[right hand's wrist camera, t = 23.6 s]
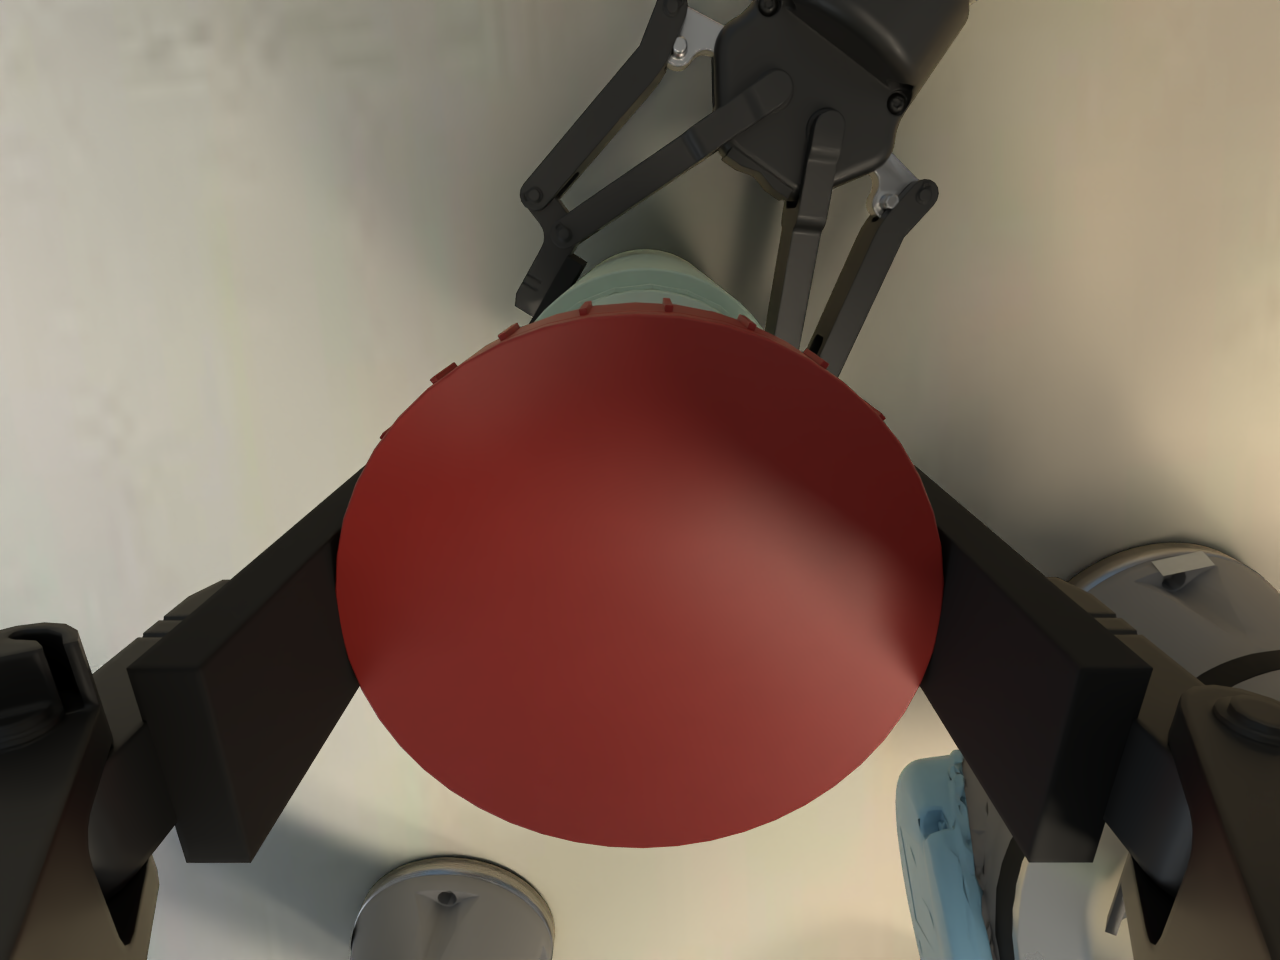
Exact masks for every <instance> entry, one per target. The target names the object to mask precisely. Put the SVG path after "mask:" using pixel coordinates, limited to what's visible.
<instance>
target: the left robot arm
mask: <svg viewBox="0 0 1280 960" xmlns="http://www.w3.org/2000/svg"><path fill="white" fill-rule="evenodd" d="M976 1H977V0H753V1H752V3H751V4H750V6H749V7H748V8H747V9H746V10H745V11H744V12H743V13H741V14H740V15H739V16H737V17H736V18H734V19H732V20H731V21H729V22H728V23H727V24H726V25H725V26H724V25H722V24H720V23H718V22H716V21H715V20H713V19H711V18H709V17H707V16H705V15H703V14H702V13H700V12H698V11H696V10H694V9H692V8H690V7H689V6H688V3H687V0H657V2H656V5H655V7H654V10H653V12H652V15H651V18H650V20H649V23H648V25H647V28H646V30H645V33H644V36H643V38H642V41H641V43H640V46H639V47H638V48H637V49H636V51H635V52H634V53H633V54H632V55H631V56H630V58H629V59H628V60H627V61H626V62H625V64H624V65H623V66H622V67H621V68H620V70H619V71H618V72H617V73H616V74H615V76H614V77H613V78H612V79H611V80H610V82H609V83H608V84H607V85H606V86H605V87H604V89H603V90H602V91H601V92H600V93H599V95H598V96H597V97H596V98H595V99H594V101H593V102H592V103H591V104H590V105H589V107H588V108H587V109H586V110H585V111H584V113H583V114H582V115H581V116H580V117H579V118H578V120H577V121H576V122H575V123H574V124H573V126H572V127H571V128H570V129H569V130H568V132H567V133H566V134H565V135H564V136H563V138H562V139H561V140H560V141H559V142H558V144H557V145H556V146H555V147H554V148H553V150H552V151H551V152H550V153H549V154H548V155H547V157H546V158H545V159H544V160H543V161H542V163H541V164H540V165H539V166H538V167H537V169H536V170H535V171H534V172H533V173H532V175H531V176H530V177H529V178H528V179H527V181H526V182H525V183H524V184H523V186H522V188H521V190H520V198H521V202H522V203H523V205H524V206H525V207H526V208H528V209H529V210H530V212H531V213H532V214H533V216H534V217H535V218H536V220H537V221H538V222H539V223H540V225H541V227H542V228H543V232H544V242H543V245H542V247H541V249H540V251H539V253H538V255H537V256H536V258H535V260H534V262H533V264H532V266H531V267H530V269H529V271H528V273H527V275H526V277H525V278H524V280H523V282H522V284H521V286H520V288H519V289H518V291H517V293H516V301H515V306H516V307H518V308H519V309H521V310H522V311H524V312H526V313H527V314H529V315H531V316H532V317H533V318H532V319H531V321H530V323H529V324H531V323H534V322H535V320H536V319H537V318H538V317H539V316H540V315H541V313H542V312H543V311H544V310H545V309H546V308H547V307H548V306H549V305H551V304H552V303H553V302H554V301H555V300H556V299H557V298H558V297H560V296H561V295H562V294H563V293H564V292H566V291H567V290H568V289H569V288H570V287H572V286H573V285H574V284H575V283H576V281H577V280H578V278H579V276H580V274H581V273H582V271H583V269H584V267H585V266H586V264H587V262H586V261H584V260H583V259H581V258H580V257H578V256H577V255H575V254H574V251H575V250H576V248H577V246H578V245H579V244H580V243H581V242H583V241H584V240H586V239H587V238H589V237H590V236H592V235H593V234H595V233H596V232H598V231H599V230H601V229H602V228H604V227H605V226H607V225H608V224H610V223H611V222H613V221H614V220H616V219H617V218H619V217H620V216H621V215H623V214H624V213H626V212H627V211H629V210H630V209H632V208H633V207H635V206H636V205H638V204H639V203H641V202H642V201H644V200H645V199H647V198H648V197H650V196H651V195H653V194H654V193H656V192H657V191H659V190H660V189H662V188H663V187H664V186H666V185H667V184H669V183H670V182H672V181H673V180H675V179H676V178H678V177H679V176H681V175H682V174H684V173H685V172H687V171H688V170H690V169H691V168H693V167H694V166H696V165H698V164H699V163H701V162H702V161H704V160H705V159H707V158H708V157H710V156H711V155H712V154H714V153H715V152H717V151H718V152H719V153H720V155H721V156H722V159H721V160H722V161H724V162H725V163H726V164H728V165H729V166H731V167H732V168H734V169H735V170H737V171H740V172H743V173H746V174H749V175H752V176H753V177H754V178H755V179H756V180H757V182H758V183H759V184H760V185H761V187H762V188H763V189H764V190H765V191H766V192H767V193H769V194H770V195H772V196H773V197H774V198H776V199H777V200H785V202H784V208H783V214H782V222H781V224H782V232H781V238H780V244H779V250H778V256H777V262H776V267H775V273H774V279H773V285H772V291H771V297H770V303H769V309H768V315H767V320H766V326H765V331H766V332H768V333H770V334H772V335H774V336H776V337H778V338H780V339H782V340H784V341H786V342H788V343H789V344H791V345H792V346H794V347H795V348H797V349H798V350H799V347H800V341H801V336H802V331H803V326H804V320H805V315H806V310H807V304H808V299H809V294H810V289H811V283H812V278H813V273H814V267H815V262H816V257H817V252H818V246H819V241H820V236H821V232H822V230H823V228H824V226H825V223H826V219H827V215H828V209H829V204H830V199H831V194H832V189H834V188H836V187H838V186H841V185H843V184H846V183H848V182H850V181H853V180H855V179H857V178H860V177H862V176H864V175H867V174H868V175H869V176H870V177H871V180H872V190H871V192H870V194H869V196H868V198H867V201H866V208H867V211H868V213H869V214H870V216H869V217H868V219H867V220H866V222H865V223H864V225H863V226H862V228H861V230H860V231H859V233H858V235H857V237H856V239H855V242H854V244H853V246H852V248H851V251H850V253H849V255H848V257H847V260H846V262H845V264H844V266H843V269H842V271H841V273H840V275H839V278H838V280H837V282H836V284H835V287H834V289H833V291H832V293H831V295H830V298H829V300H828V302H827V304H826V307H825V309H824V311H823V313H822V316H821V318H820V320H819V322H818V325H817V327H816V329H815V331H814V334H813V336H812V338H811V340H810V343H809V345H808V347H807V349H809V350H810V351H812V352H813V353H815V354H816V355H817V356H819V357H820V358H822V359H823V360H825V361H826V362H827V363H829V366H828V367H827V369H826V370H828V371H829V372H831V373H832V374H833V375H835V376H836V377H837V378H838V377H839V374H840V372H841V370H842V368H843V366H844V364H845V362H846V360H847V357H848V355H849V353H850V351H851V349H852V347H853V345H854V343H855V340H856V338H857V336H858V334H859V332H860V330H861V328H862V325H863V323H864V321H865V319H866V317H867V315H868V313H869V311H870V308H871V306H872V304H873V302H874V300H875V298H876V296H877V294H878V291H879V289H880V287H881V285H882V283H883V281H884V279H885V277H886V274H887V272H888V270H889V268H890V266H891V264H892V262H893V260H894V257H895V255H896V253H897V251H898V249H899V247H900V245H901V242H902V240H903V238H904V237H905V236H906V235H907V234H908V233H909V231H910V230H911V229H912V228H913V227H914V226H915V225H916V224H917V223H918V222H919V221H920V219H921V218H922V217H923V216H924V215H925V214H926V213H927V212H928V211H929V210H930V209H931V207H932V206H933V205H934V204H935V202H936V201H937V198H938V194H939V192H938V187H937V185H936V184H935V183H934V182H933V181H931V180H927V179H923V180H918V179H917V178H916V177H915V176H914V175H913V174H912V173H911V172H910V171H909V170H908V169H907V168H906V167H905V166H904V165H903V163H902V162H901V161H900V160H899V159H898V158H897V157H896V156H895V155H894V154H893V153H892V151H893V148H894V144H895V136H896V132H897V128H898V125H899V123H900V120H901V118H902V117H903V115H904V113H905V112H906V110H907V109H908V107H909V106H910V104H911V103H912V101H913V100H914V98H915V97H916V95H917V94H918V92H919V91H920V90H921V88H922V87H923V85H924V84H925V82H926V81H927V79H928V78H929V76H930V75H931V73H932V72H933V70H934V69H935V67H936V66H937V64H938V63H939V62H940V60H941V59H942V57H943V56H944V54H945V53H946V51H947V50H948V48H949V47H950V45H951V44H952V42H953V41H954V39H955V38H956V36H957V35H958V34H959V32H960V31H961V29H962V28H963V26H964V25H965V23H966V21H967V19H968V15H969V5H971V4H973V3H974V2H976ZM701 55H706V56H709V57H711V65H712V103H713V112H712V113H711V114H709V115H708V116H706V117H705V118H704V119H702V120H701V121H699V122H698V123H696V124H695V125H693V126H692V127H691V128H689V129H688V130H687V131H686V132H684V133H683V134H682V135H681V136H679V137H678V138H676V139H675V140H673V141H672V142H670V143H669V144H667V145H666V146H665V147H663V148H662V149H660V150H659V151H657V152H656V153H654V154H653V155H651V156H650V157H649V158H647V159H646V160H644V161H643V162H641V163H640V164H638V165H637V166H635V167H634V168H633V169H631V170H630V171H628V172H627V173H625V174H624V175H622V176H621V177H620V178H618V179H617V180H615V181H614V182H612V183H611V184H609V185H608V186H606V187H605V188H604V189H602V190H601V191H599V192H598V193H596V194H595V195H593V196H592V197H590V198H589V199H588V200H586V201H585V202H583V203H582V204H580V205H579V206H577V207H576V208H574V209H573V210H572V211H570V212H569V211H568V209H567V208H566V207H565V206H564V204H563V203H562V202H561V200H560V198H561V197H562V196H563V195H564V194H565V193H566V191H567V190H568V189H569V188H570V187H571V186H572V185H573V183H574V182H575V181H576V180H577V179H578V178H579V176H580V175H581V174H582V173H583V172H584V171H585V169H586V168H587V167H588V166H589V165H590V164H591V162H592V161H593V160H594V159H595V158H596V157H597V156H598V154H599V153H600V152H601V151H602V150H603V149H604V147H605V146H606V145H607V144H608V143H609V142H610V140H611V139H612V138H613V137H614V136H615V135H616V133H617V132H618V131H619V130H620V129H621V128H622V127H623V125H624V124H625V123H626V122H627V121H628V120H629V118H630V117H631V116H632V115H633V114H634V113H635V111H636V110H637V109H638V108H639V107H640V106H641V105H642V103H643V102H644V101H645V100H646V99H647V98H648V96H649V95H650V94H651V93H652V92H653V90H654V89H655V88H656V86H657V85H658V84H659V82H660V81H661V79H662V78H663V76H664V74H665V73H666V70H667V68H668V69H670V70H673V71H682V70H684V69H686V68H687V67H688V66H689V64H690V63H691V62H692V60H693V59H695V58H696V57H698V56H701ZM1068 583H1070V584H1072V585H1074V586H1076V587H1078V588H1080V589H1082V590H1084V591H1086V592H1088V593H1090V594H1092V595H1093V596H1095V597H1096V598H1097V599H1098V600H1100V601H1101V602H1102V603H1103V604H1105V605H1106V606H1107V607H1108V608H1110V609H1111V610H1112V611H1113V612H1115V613H1116V617H1117V618H1122V619H1123V620H1125V621H1126V622H1127V623H1128V624H1130V625H1131V626H1132V627H1133V628H1135V629H1136V630H1137V634H1138V635H1143V636H1145V637H1146V638H1147V639H1148V640H1150V641H1151V642H1152V643H1153V644H1155V645H1156V646H1157V647H1158V648H1159V649H1161V650H1162V651H1163V652H1164V653H1166V654H1167V655H1168V656H1169V657H1171V658H1172V659H1173V660H1174V661H1176V662H1177V663H1178V664H1179V665H1181V666H1182V667H1183V668H1184V669H1186V670H1187V671H1188V672H1189V673H1191V674H1192V675H1193V676H1194V677H1196V678H1197V679H1198V680H1199V681H1201V682H1202V683H1203V684H1204V685H1219V686H1226V687H1233V688H1240V689H1244V690H1247V691H1250V692H1254V693H1257V694H1260V695H1263V696H1267V697H1270V698H1273V699H1275V700H1277V701H1279V702H1280V594H1279V593H1278V591H1277V590H1276V589H1275V588H1274V587H1273V586H1272V585H1271V584H1270V583H1268V582H1267V581H1266V580H1265V579H1264V578H1263V577H1262V576H1261V575H1260V574H1258V573H1257V572H1256V571H1254V570H1253V569H1251V568H1249V567H1248V566H1246V565H1244V564H1242V563H1241V562H1239V561H1237V560H1235V559H1234V558H1232V557H1230V556H1228V555H1226V554H1224V553H1222V552H1220V551H1218V550H1215V549H1212V548H1209V547H1206V546H1201V545H1196V544H1189V543H1157V544H1151V545H1144V546H1140V547H1136V548H1132V549H1129V550H1125V551H1122V552H1119V553H1117V554H1114V555H1112V556H1109V557H1107V558H1105V559H1103V560H1101V561H1099V562H1097V563H1095V564H1093V565H1092V566H1090V567H1088V568H1087V569H1085V570H1083V571H1082V572H1080V573H1079V574H1078V575H1076V576H1075V577H1073V578H1072V579H1071V580H1070V581H1068ZM896 822H897V833H898V841H899V849H900V856H901V863H902V870H903V876H904V882H905V888H906V893H907V899H908V904H909V909H910V914H911V918H912V923H913V928H914V932H915V937H916V941H917V946H918V950H919V955H920V959H921V960H1134V959H1133V953H1132V947H1131V941H1130V935H1129V929H1128V923H1127V918H1125V919H1123V920H1122V921H1121V924H1120V927H1119V930H1118V933H1117V936H1115V935H1112V934H1109V933H1107V932H1105V928H1106V922H1107V916H1108V913H1109V910H1110V907H1111V904H1112V901H1113V898H1114V895H1115V892H1116V889H1117V886H1118V883H1119V880H1120V877H1121V874H1122V871H1123V868H1124V865H1125V862H1126V859H1127V856H1128V853H1129V851H1128V850H1127V849H1126V848H1125V846H1124V845H1123V844H1122V843H1121V841H1120V840H1119V839H1118V838H1117V836H1116V835H1115V834H1114V832H1113V831H1112V830H1111V829H1110V827H1109V826H1108V825H1107V824H1106V822H1105V825H1104V829H1103V832H1102V835H1101V838H1100V841H1099V845H1098V848H1097V851H1096V854H1095V858H1094V861H1093V863H1029V862H1028V860H1027V859H1026V857H1025V856H1024V854H1023V852H1022V851H1021V849H1020V847H1019V846H1018V844H1017V843H1016V841H1015V839H1014V838H1013V836H1012V834H1011V833H1010V831H1009V830H1008V828H1007V826H1006V825H1005V823H1004V822H1003V820H1002V818H1001V817H1000V815H999V813H998V812H997V810H996V809H995V807H994V805H993V804H992V802H991V800H990V799H989V797H988V796H987V794H986V792H985V791H984V789H983V787H982V786H981V784H980V783H979V781H978V779H977V778H976V776H975V774H974V773H973V771H972V770H971V768H970V766H969V765H968V763H967V762H966V760H965V758H964V757H963V755H962V753H961V752H960V750H953V751H952V752H951V754H950V755H945V756H939V757H931V758H923V759H918V760H915V761H913V762H911V763H910V764H908V765H907V766H906V767H905V768H904V769H903V771H902V772H901V774H900V776H899V779H898V782H897V789H896Z"/></svg>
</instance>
